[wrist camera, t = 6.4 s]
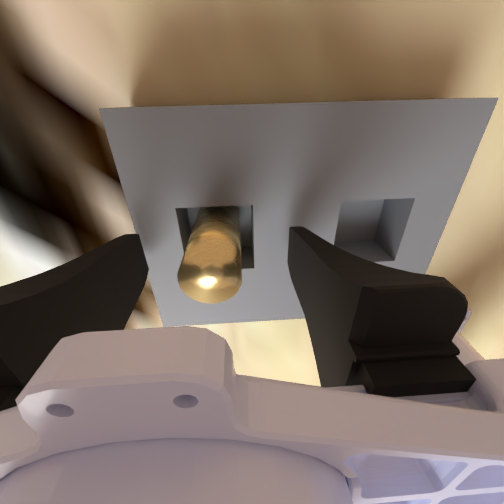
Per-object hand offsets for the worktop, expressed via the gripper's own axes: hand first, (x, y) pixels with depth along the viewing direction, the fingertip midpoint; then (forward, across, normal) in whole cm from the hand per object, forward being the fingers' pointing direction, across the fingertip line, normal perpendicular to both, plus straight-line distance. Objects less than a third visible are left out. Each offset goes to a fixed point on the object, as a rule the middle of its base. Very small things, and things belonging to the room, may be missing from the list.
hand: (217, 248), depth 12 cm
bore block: (+4, -4, 0) cm, 6 cm away
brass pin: (+3, 0, 0) cm, 3 cm away
